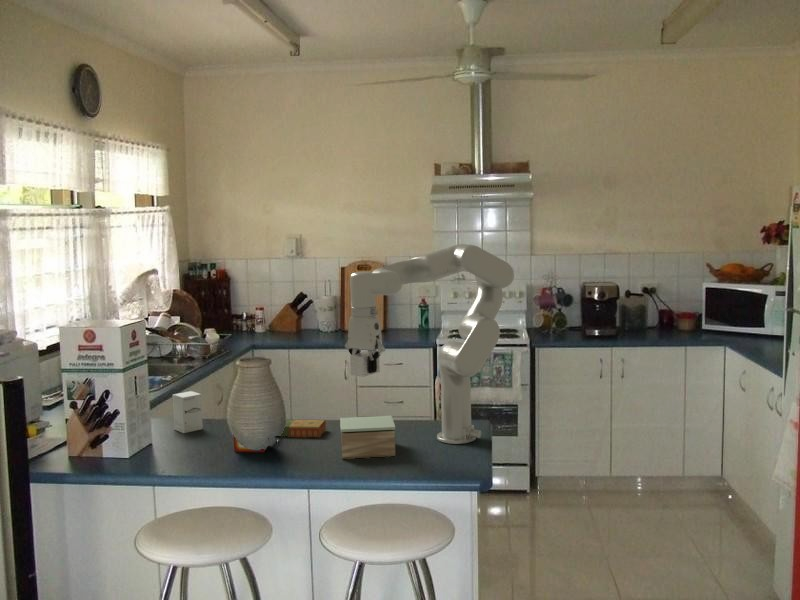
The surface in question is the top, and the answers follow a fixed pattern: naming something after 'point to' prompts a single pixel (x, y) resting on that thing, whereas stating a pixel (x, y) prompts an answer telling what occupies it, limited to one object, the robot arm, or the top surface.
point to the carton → (304, 428)
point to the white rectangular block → (361, 364)
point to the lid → (367, 423)
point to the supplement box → (187, 411)
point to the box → (368, 444)
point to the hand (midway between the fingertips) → (365, 370)
